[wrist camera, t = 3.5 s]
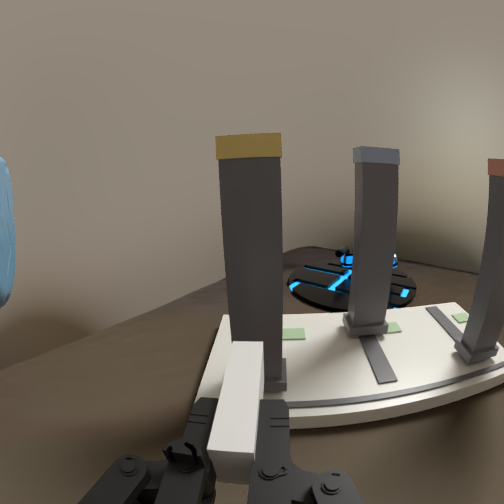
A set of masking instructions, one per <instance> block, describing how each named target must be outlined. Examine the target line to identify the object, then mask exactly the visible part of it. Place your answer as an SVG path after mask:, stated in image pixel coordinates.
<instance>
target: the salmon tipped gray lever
mask: <svg viewBox="0 0 504 504" xmlns="http://www.w3.org/2000/svg"><path fill="white" fill-rule="evenodd" d="M488 175H489V202H488V216H487V226H486V235H485V243H484V249H483V255H482V262H481V267H480V272H479V277H478V281H477V286H476V290H475V294H474V298H473V302H472V306H471V310H470V313H469V317H468V320H467V324H466V327H465V330H464V333H463V336H462V338H458V339H456V342H455V345H454V348H455V349H456V350H457V352H458V353H459V354H460V355H461V356H462V358H463V359H464V360H465V361H466V363H467V364H472V363H475V362H478V361H482V360H485V359H488V358H491V357H494V356H496V355H497V352H498V350H499V347H498V346H497V345H496V343H497V340H498V338H499V335H500V332H501V330H502V327H503V324H504V159H488Z"/></svg>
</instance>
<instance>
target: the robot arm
mask: <svg viewBox="0 0 504 504" xmlns="http://www.w3.org/2000/svg"><path fill="white" fill-rule="evenodd" d="M14 274H15V226H14V208H13V194H12V186H11V179H10V174H9V170H8V168H7V167H6V162H5V161H4V160H3V158H1V157H0V308H1V307H2V306H4V305H5V304H6V302H7V301H8V299H9V297H10V295H11V292H12V288H13V282H14ZM263 392H264V356H263V342H252V341H233V343H232V347H231V351H230V355H229V359H228V363H227V368H226V372H225V376H224V380H223V384H222V388H221V392H220V397H219V398H208V397H200V398H199V399H198V400H197V401H196V402H195V404H194V405H193V408H192V411H191V414H190V417H189V420H188V423H187V426H186V429H185V432H184V435H183V438H182V439H177V440H173V441H171V442H169V443H168V444H166V445H165V447H164V448H163V450H162V451H163V452H164V454H165V456H166V458H167V459H166V460H161V461H146V462H144V460H142V459H141V458H140V457H138V456H135V455H125V456H122V457H120V458H118V459H117V460H116V461H115V462H114V463H113V464H112V465H111V467H110V468H109V469H108V470H107V471H106V472H105V473H104V475H103V476H102V477H101V478H100V479H99V480H98V481H97V483H96V484H95V485H94V486H93V487H92V488H91V489H90V490H89V492H88V493H87V494H86V495H85V496H84V497H83V498H82V499H81V500H80V502H79V503H78V504H214V501H215V496H216V490H215V482H216V479H217V481H218V482H222V483H233V484H249V492H248V501H247V504H364V503H363V501H362V499H361V497H360V495H359V493H358V491H357V489H356V487H355V485H354V483H353V481H352V479H351V478H350V476H349V475H348V474H347V473H345V472H343V471H340V470H327V471H324V472H322V473H320V474H318V473H312V472H308V471H304V470H301V469H300V468H298V467H296V466H295V465H294V464H293V462H292V460H291V457H290V427H289V407H288V405H287V404H286V402H285V401H284V399H263Z"/></svg>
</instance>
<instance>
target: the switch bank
mask: <svg viewBox="0 0 504 504" xmlns="http://www.w3.org/2000/svg"><path fill="white" fill-rule="evenodd" d="M343 313H348V312H342V313H320V314H288V315H283V336H282V358H286V371H287V391H282V392H263V399H284V401H285V402H286V404H287V405H288V407H289V427H290V429H303V428H319V427H331V426H341V425H349V424H357V423H364V422H371V421H377V420H382V419H388V418H393V417H398V416H402V415H407V414H411V413H415V412H420V411H424V410H427V409H431V408H435V407H438V406H442V405H445V404H448V403H451V402H455V401H458V400H461V399H464V398H466V397H469V396H472V395H475V394H478V393H480V392H483V391H485V390H488V389H490V388H493V387H495V386H497V385H500V384H502V383H504V348H503V347H502V346H501V345H500V344H499V343H498V342H497V343H496V345H497V346H498V347H499V350H498V352H497V355H496V356H494V357H491V358H488V359H485V360H482V361H478V362H475V363H472V364H467V363H466V361H465V360H464V359H463V358H462V356H461V355H460V354H459V353H458V352H457V350H456V349H455V348H454V345H455V342H456V339H458V338H462V336H463V333H464V330H465V327H466V324H467V320H468V317H469V314H468V313H467V312H465V311H464V310H463V309H462V308H461V307H460V306H459V305H458V304H457V303H455V302H452V303H444V304H436V305H427V306H418V307H408V308H397V309H387V311H386V316H385V320H386V322H387V323H388V325H389V326H388V331H387V333H384V334H374V335H363V336H350V337H348V334H347V332H346V329H345V327H344V324H343V322H342V319H343ZM231 347H232V341H231V330H230V319H229V315H223V318H222V321H221V324H220V327H219V330H218V333H217V336H216V339H215V342H214V345H213V348H212V351H211V354H210V357H209V360H208V363H207V366H206V369H205V372H204V375H203V378H202V381H201V384H200V387H199V390H198V393H197V396H196V399H195V402H196V401H197V400H198V399H199V398H200V397H208V398H219V397H220V392H221V388H222V384H223V380H224V376H225V372H226V368H227V363H228V359H229V355H230V351H231ZM195 402H194V404H195Z"/></svg>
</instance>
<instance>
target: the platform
mask: <svg viewBox="0 0 504 504" xmlns="http://www.w3.org/2000/svg"><path fill="white" fill-rule="evenodd" d="M335 254H336V256H337V257H340V259H331V260H323V261H317V262H313V263H309V264H306V265H305V268H303V267H299V268H297V269H296V270H295V271H293V272H292V274H291V275H290V277H289V287H290V290H291V291H292V292H293V294H294V295H295V296H297V297H298V298H299V299H301V300H302V301H304V302H306V303H308V304H310V305H312V306H315V307H318V308H321V309H324V310H328V311H332V312H337V313H342V312H348V305H349V296H350V285H351V274H352V260H353V251H352V250H349V248H348V247H347V246H343V247H341V248H340V249H338V250H337V251H336V253H335ZM397 265H398V262H397V257H396V254H395V253H394V262H393V271H392V279H391V286H390V293H389V299H388V305H387V309H397V308H402V307H405V306H406V305H408V304H409V303H410V302H411V301H412V300H413V299H414V297H415V294H416V288H417V287H416V284H415V282H414V281H413V279H412V278H411V277H410V278H407V274H406V273H404V272H402V271H401V270H399V269H396V267H397Z"/></svg>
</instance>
